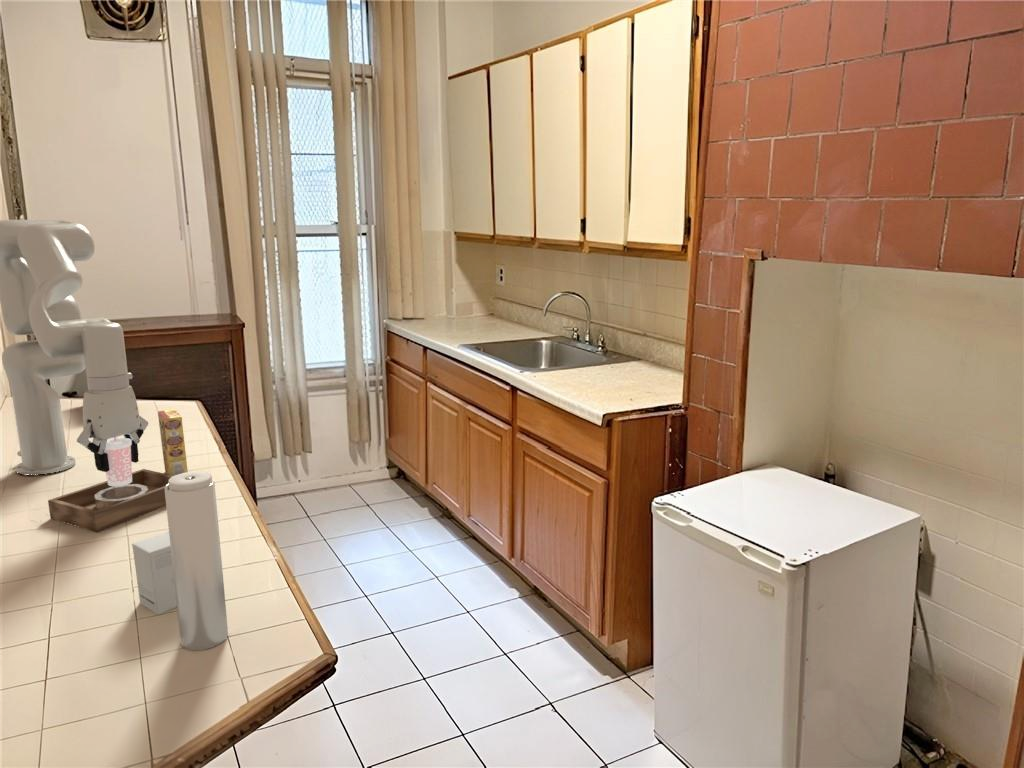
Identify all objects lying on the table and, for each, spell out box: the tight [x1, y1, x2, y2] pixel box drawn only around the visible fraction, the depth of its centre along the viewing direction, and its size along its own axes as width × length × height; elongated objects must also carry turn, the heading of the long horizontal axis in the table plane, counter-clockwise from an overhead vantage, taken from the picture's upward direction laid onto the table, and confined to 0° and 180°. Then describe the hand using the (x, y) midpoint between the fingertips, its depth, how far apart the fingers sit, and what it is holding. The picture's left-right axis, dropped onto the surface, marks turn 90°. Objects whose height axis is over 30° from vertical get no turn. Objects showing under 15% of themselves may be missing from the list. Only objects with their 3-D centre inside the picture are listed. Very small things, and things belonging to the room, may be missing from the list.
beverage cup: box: [104, 437, 133, 486], centre depth 157 cm, size 6×6×14 cm
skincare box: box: [131, 531, 177, 615], centre depth 121 cm, size 10×6×10 cm, turn 141°
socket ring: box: [94, 484, 148, 510], centre depth 159 cm, size 10×10×2 cm
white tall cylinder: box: [164, 471, 229, 651], centre depth 107 cm, size 6×6×25 cm
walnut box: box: [47, 468, 173, 533], centre depth 159 cm, size 15×22×4 cm
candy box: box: [157, 408, 189, 476], centre depth 178 cm, size 9×4×15 cm, turn 33°
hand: (118, 465), depth 158 cm, fingers closed on beverage cup, 6 cm apart
